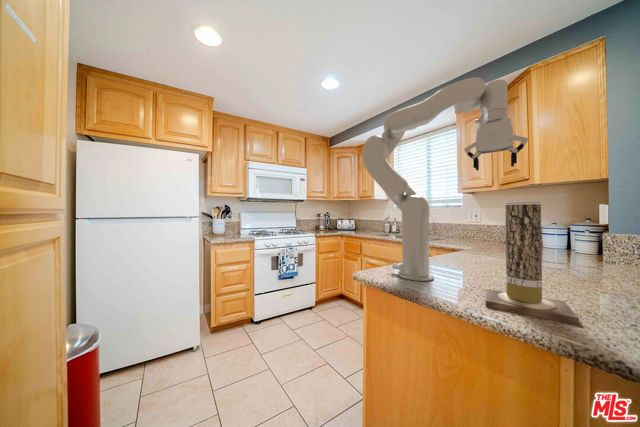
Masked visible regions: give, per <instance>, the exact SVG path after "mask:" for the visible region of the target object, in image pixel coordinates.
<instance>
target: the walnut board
mask: <svg viewBox="0 0 640 427" xmlns="http://www.w3.org/2000/svg"><path fill="white" fill-rule="evenodd" d="M485 308H491V309H497V310H500V311H501V310H502V311H506V312H510V313H516V314H521V315H527V316H531V317H536V318H541V319H546V320H551V321H556V322H560V323H561V322H563V323H566V324H570V325H571V324H573V325H575V326H580V318H579V316H578V315H577V314H576V313H575V312H574V311H573V310H572V309H571V307H570V306H569V305H568V304H567V303H566V301H564V300H558V299H553V298H552V299H550V298H546V297H542V301H541V302H540V303H525V302H520V301H517V300H514V299H511V298H510V297H508V296H507V291H503V290H495V289H488V288H486V290H485Z"/></svg>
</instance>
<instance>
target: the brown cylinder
mask: <svg viewBox="0 0 640 427" xmlns="http://www.w3.org/2000/svg"><path fill="white" fill-rule="evenodd" d="M542 248H543V246H542V204H541V202H537V201H534V202H533V201H528V202H508V203H506V204H505V268H506V269H505V277H506V278H505V279H506V280H505V281H506V292H507V296H508V297H510V298H511V299H514V300H517V301H520V302H525V303H540V302H541V301H542V298H543V280H542V279H543V271H542V270H543V263H542V260H543V258H542V257H543V255H542V254H543V253H542V252H543V251H542V250H543V249H542Z"/></svg>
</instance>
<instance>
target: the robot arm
mask: <svg viewBox="0 0 640 427" xmlns="http://www.w3.org/2000/svg"><path fill="white" fill-rule="evenodd" d="M508 103H509V102H508V83H507V81H506V80H505V79H494V80H491V81H489V82H487V83H485V81H484V80H483V79H482V78H480V77H469V78H465V79H461V80H459V81H457V82H454V83H451V84H449V85H447V86H445V87H443V88H441V89H440V90H438V91H436V92H434V94H432V95H431V96H429V97H427V98H426V99H425V100H423V101H420V102H418V103H415V104H412V105H409V106H406V107H404V108H400V109H398V110H395V111H393V112H389V113H388V114H387V115H386V116H385V117H384V119H383V122H382V123H383V129H384V130H383V132H382V134H381V135H377V134H376V135H375V134H374V135H371V136H369V137H368V138H367V139H366V140H365V142H364V144H363V147H362V151H361V152H362V153H361V154H362V155H361V159H362V162H363V166H364V168H365V170H366V172H367V173H368V174H369V175H370V177H371V178H372V179H373V180H374V181H375V182H376V184H377V185H378V186H379V187H380V188H381V189H382V191H383V192H384V193H385V195H386V196H387V197H388V198H389V200H391V202H392V203H393V204H394V205H395V206H396V207H397V208H398V209H399V210H400V211H401V239H402V240H401V244H402V248H401V249H402V250H401V252H402V254H401V255H402V257H401V259H402V263H400V264H399V263H392V264H391V267H392V269H393V270H399V271H398V273H397V275H398V276H399V277H400V278H403V279H405V280H410V281H418V282H428V281H433V280H434V277H435V276H434V274H432V273H430V233H429V232H430V228H429V227H430V223H429V222H430V206H429V202H428V200H427V199H426V198H425V197H423V196H422V195H418V193H416V192H415V191H414V190H413V189H412V187H411V186H410V185H409V184H408V181H407V180H406V179H405V178H404V177H403V176H401V174H400V173H398V172H397V171H396V170H395V169H394V168H393V167H392V165H391V164H390V163H389V162H388V161H387V159H388V158H389V157H390V156H391V154H392V153H393V152H394V151H395V148H396V147H397V146H398V145H399V143H400V142H401V140H402V138H403V137H404V135H405V133H406V131H409V130H412V129H416V128H419V127H422V126H425V125H428V124H429V123H430V122H432V121H434V119H435V118H436V117H438V116H439V115H440V114H441V113H443V112H444V111H446V110H447V109H450V108H451V107H453V108H454V110H455V111H456V112H457V113H460V114H465V113H466V114H468V113H471V112H474V111H476V110H479V112H480V113H479V115H480V117H478V118H477V119H475V123H474V124H478V125H477V127H476V132H475V133H476V134H475V135H476V136H475V142H473V143H471V144H470V145H468V146H467V147H465V148H464V149H463V150H464V152H465V153H466V154H467V156H468V157H469V158H470V159H471V160H473V169H475V171H479V170H480V169H479V168H480V165H479V164H480V161H479V157H480V156H481V155H482V154H489V153H490V154H491V153H498V152H504V151H508V152H510V167H511V168H512V167H515V164H517V162H518V157H517V156H518V153H519V152H520V151H521V150H523V149H524V147H525V146H526V144H527V142H528V140H529V138H528V137H523V136H520V135H515V134H514V127H513V123H512V119H511V117H509V116H508V115H509V110H508V106H509V104H508ZM514 141H516V142H520V144H519V145H518V146H517V147H515V146H514ZM474 148H475V153H472V152H471V150H473V149H474Z"/></svg>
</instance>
